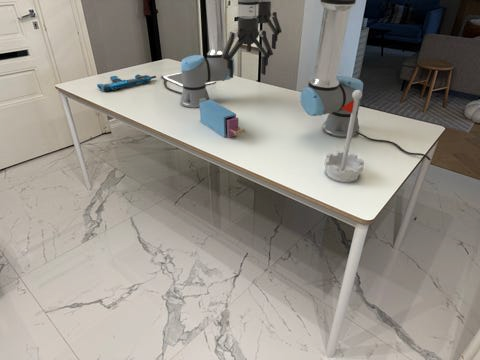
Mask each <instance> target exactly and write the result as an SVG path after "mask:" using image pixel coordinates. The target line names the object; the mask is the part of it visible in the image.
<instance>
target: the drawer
mask: <svg viewBox="0 0 480 360" xmlns="http://www.w3.org/2000/svg"><path fill="white" fill-rule="evenodd" d="M225 119H226V134H227V136H228V137H227V138H232V137H235V136H239V135H242V134H245V133H246V130H245V129H244V128H243V129H242V128H241V127H239V117H236V118H234V117H229V118H225Z"/></svg>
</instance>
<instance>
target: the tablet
mask: <svg viewBox="0 0 480 360" xmlns="http://www.w3.org/2000/svg"><path fill="white" fill-rule="evenodd" d="M162 76H163V77H164V78H165V81H167V82H170V83H173V84H175V85H177V86H179V87H181V88H183V81H182V71H181V72H177V73H172V74H167V75H162ZM160 78H161V79H163V78H162V77H161V76H160ZM215 83H217V81H213V82H206V86H207V85H213V84H215Z"/></svg>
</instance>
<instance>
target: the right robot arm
mask: <svg viewBox="0 0 480 360" xmlns="http://www.w3.org/2000/svg"><path fill="white" fill-rule="evenodd" d="M356 1H357V0H319V2H320V4H321V5H322V7H323V11H322V18H321V25H320V32H319V37H318V43H317V51H316V57H315V58H316V59H315V63H314V70H313V75H312V76H311V77H310V78H309V79H308V85H307V86H306V87H304V88H303V89H302V90H301V91H300V99H299V100H300V104H301V107H302V109H303V111H304V112H305V113H306V114H307V115H308V116H310V117H321V116H323V115H327V117H326V120H325V121H324V122H323V124H322V130H323V132H324V133H325V134H326V135H329V136H332V137H335V138H339V139H341V138H342V139H346V138H347V133H348V127H349V122H350V117H351V113H350V112H348V111H346V110H343V109H341V108H342V107H344V106H345V105H347V104H348V103H350V102H351V101H353V100H354V98H353V97H352V94H353V92H354V91H355V90H360V91H361V92H362V93H363V92H364V91H363V89H364V83H363V81H362V80H361V79H359V78H355V77H353V76H345V75H338V71H339V66H340V60H341V55H342V52H343V51H342V50H343V45H344V40H345V35H346V29H347V24H348V19H349V14H350V10H351V8H353V7H354V6H355V5H356ZM271 10H272V1H271V0H259V14H258V16H257V18H258V25H259V24H267V25H268V27H269V28H270V30H271V31H272V33H271V49H273V50H276V49H277V42H278V39H279V37H278V36H279V35H280V34H281V33H282V31H283V30H282V28H281V24H280V22H279V20H278V13H277V12H276V11H271ZM270 18H271V19H270ZM272 22H273V23H272ZM246 51H247V52H249V53H251V52H252V44H247V45H246ZM361 101H362V97H361V98H360V99H359V101H358V107H357V112H356V117H355V122H354V127H353V132H352V137H351V138H354V137H356V136H357V135H359V136H362V137H363V138H365V139H367V140H369V141H371V142H379V143H380V142H381V143H388V144H391V145H393V146H394V147H395V146H396V148H397V149H399V150H400V151H401V152H402V153H405V154H407V155H410V156H411V155H412V156H421V157H425V158H426V159H427V160H428V161H432V160H431V158H430V156H428V155H427V154H425V153H421V152H410V151H407V150H405V149H404V148H402V147H401V146H400V145H399V144H397V143H395V142H394V141H391V140H386V139H377V138H371V137H369V136H367V135H365V134H363V133H361V132H360V125H359V118H358V117H359V116H358V114H359V111H360V110H359V109H360V105H361ZM417 218H418V217H417V216H416V217H414V218H413V221H417Z"/></svg>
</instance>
